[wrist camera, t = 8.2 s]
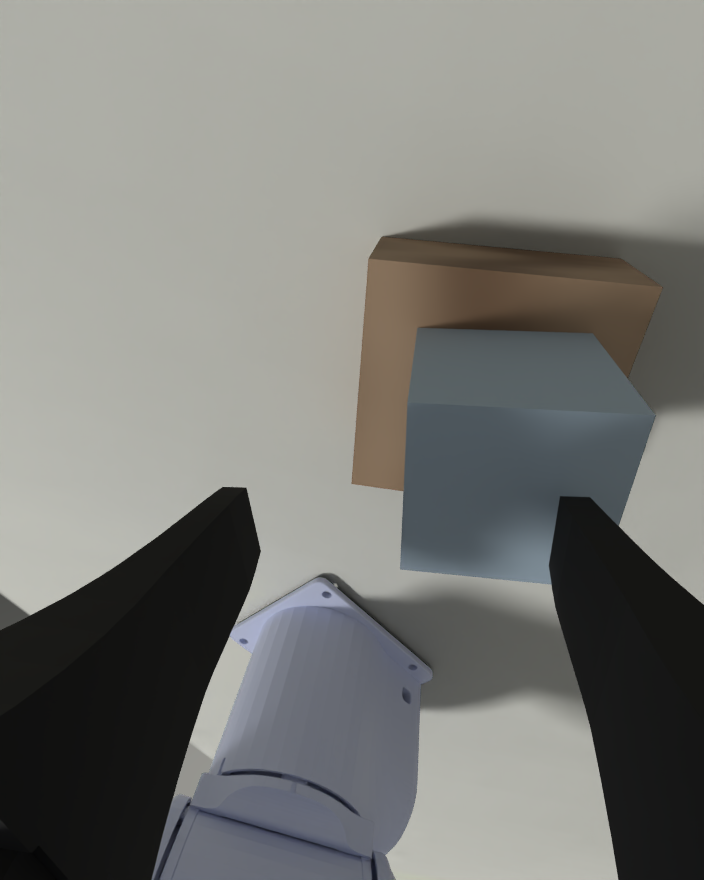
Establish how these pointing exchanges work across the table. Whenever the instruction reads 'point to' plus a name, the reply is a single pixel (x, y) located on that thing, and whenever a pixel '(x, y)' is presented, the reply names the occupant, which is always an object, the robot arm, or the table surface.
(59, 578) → the table surface
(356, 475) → the walnut block
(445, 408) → the slate cube
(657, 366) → the table surface
